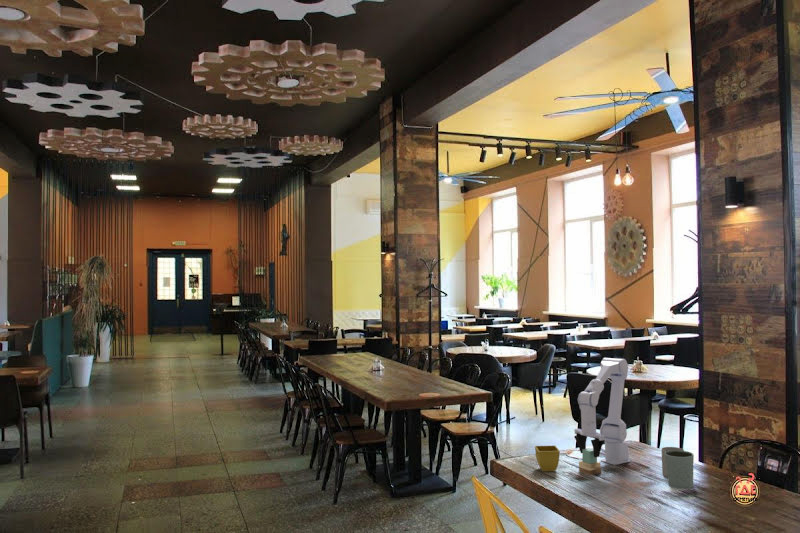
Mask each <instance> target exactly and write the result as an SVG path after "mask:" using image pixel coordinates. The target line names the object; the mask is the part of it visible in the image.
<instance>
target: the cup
mask: <svg viewBox="0 0 800 533" xmlns="http://www.w3.org/2000/svg"><path fill="white" fill-rule="evenodd" d="M671 450H681V451H685V450H684V449H683V448H681V447H675V446H664V447H661V468H662V469H661V470H662V472H661V473H662V476H664V477H667V478H668V474H667V467H666V460H665V452H666V451H671Z"/></svg>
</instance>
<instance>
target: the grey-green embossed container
mask: <svg viewBox="0 0 800 533" xmlns="http://www.w3.org/2000/svg"><path fill="white" fill-rule="evenodd" d="M694 455H695V454H694V453H693V452H690V451H687V450H684V451H681V450H671V451H666V452H665V460H666V467H667V474H668V477H667V482H668V485H669V486H670V487H671V488H675V489H679V490H687V489H692V488H694V461H695V460H694V459H695V456H694Z"/></svg>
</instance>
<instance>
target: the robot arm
mask: <svg viewBox="0 0 800 533" xmlns="http://www.w3.org/2000/svg"><path fill="white" fill-rule="evenodd" d="M628 372H629V363H628V362H627V360H626V358H615V357H613V358H611V357H603V358H602V360H601V362H600V370H599V371H598V374H597V376H596V377H595V378H594V379H591V381H590V382H589V384H588V385H587V386H586V388H585V389H584V391H581V392H580V393H579V394H578V395H577V396H578V397H577V404H578V405H579V410H580V418H581V419H580V420H581V422H580V423H581V428H574V434H575V435H574V439H575V440H576V443H577V446H578V449H579V451H580V454H582V449H587V448H586V447H587V439H588V438H591V440H590V442H591V445H592V449H593V451H594V457H597V458H599V457H600V455H601V454H600V453H601V452H602V451H601V450H602V447H603V445H604V456H605V458H603V459H601V460H600V462H604V463H607V464H611V465H614V466H617V465H621V464H625V463H626V464H627V463H631V460H630V459H629V445H628V443H627V442H626V439H627V435H628V433H627V423H625V421H624V420H623V419H621V418H622V416H621V415H622V408H623V407H622V406H623V398H624V389H625V388H624V387H625V380H627V378H628V375H629V374H628ZM609 378H610V380H611V388H610V396H609V404H608V405H609V406H608V415H607V417H606V418H604V419H603V420H602V422H601V426H600V428H599V432H598V431H597V419H596V418H597V417H596V416H597V415H596V414H597V413H596V406H597V405H598V404H599V399H600V395H601V393H602V391H604V388H605V385H604V384H605V382H607V380H608V379H609Z"/></svg>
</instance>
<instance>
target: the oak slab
mask: <svg viewBox="0 0 800 533" xmlns="http://www.w3.org/2000/svg"><path fill="white" fill-rule="evenodd" d="M579 467H580V468H583V469H586V470H595V469H599V468H602V467H601V461H597V462H596V463H592V464H589V463H585V462H583V460H580V461H578V468H579Z"/></svg>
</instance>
